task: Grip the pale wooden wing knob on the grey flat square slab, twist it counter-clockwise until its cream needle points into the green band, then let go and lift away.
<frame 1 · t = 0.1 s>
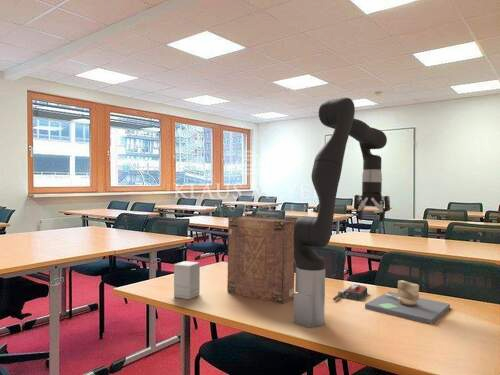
hand: (371, 221, 152), 29 cm above the table, tool pointing down, fingers open, 8 cm apart
book: (259, 295, 146), on the table
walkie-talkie: (350, 298, 146), on the table
tuning knob: (400, 290, 136), point 5 cm above the table, hinge at 0.0°
supplement box: (186, 296, 143), on the table
grey flat square slab: (407, 308, 133), on the table
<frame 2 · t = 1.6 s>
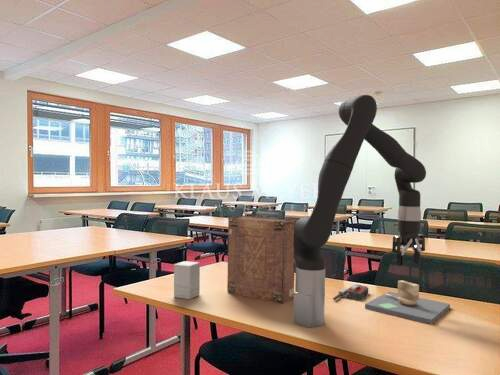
hand: (408, 264, 133), 16 cm above the table, tool pointing down, fingers open, 8 cm apart
nothing on the table moved.
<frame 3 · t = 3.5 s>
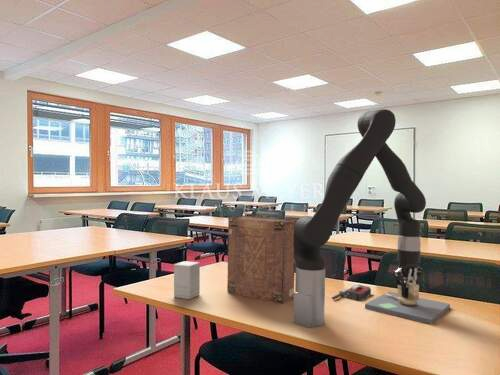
hand: (408, 296, 133), 4 cm above the table, tool pointing down, fingers closed on tuning knob, 2 cm apart
tuning knob: (400, 290, 136), point 5 cm above the table, hinge at 0.0°, touching gripper
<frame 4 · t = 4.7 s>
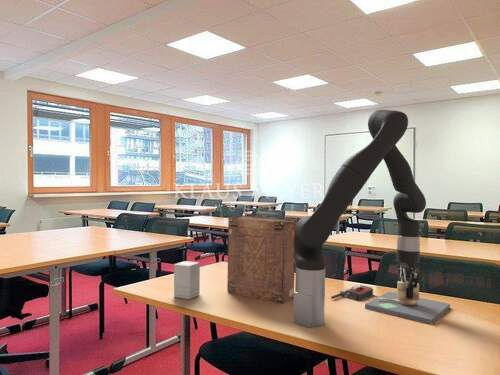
hand: (407, 296, 133), 4 cm above the table, tool pointing down, fingers closed on tuning knob, 3 cm apart
tuning knob: (398, 291, 134), point 5 cm above the table, hinge at 42.4°, touching gripper
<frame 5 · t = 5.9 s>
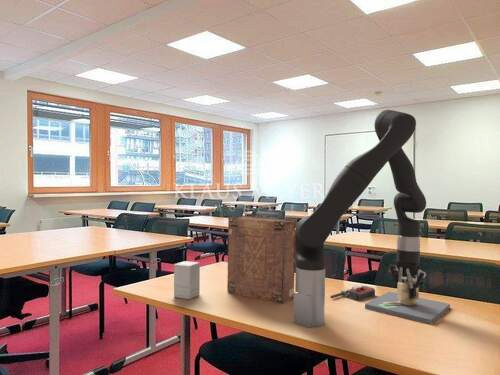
hand: (407, 296, 133), 4 cm above the table, tool pointing down, fingers closed on tuning knob, 3 cm apart
tuning knob: (400, 293, 132), point 5 cm above the table, hinge at 76.8°, touching gripper
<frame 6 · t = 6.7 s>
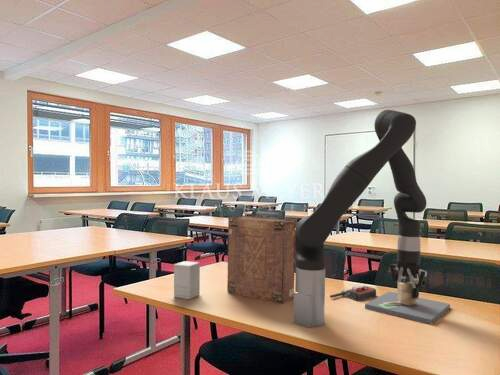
hand: (407, 295, 133), 4 cm above the table, tool pointing down, fingers open, 4 cm apart
tuning knob: (400, 293, 132), point 5 cm above the table, hinge at 77.9°
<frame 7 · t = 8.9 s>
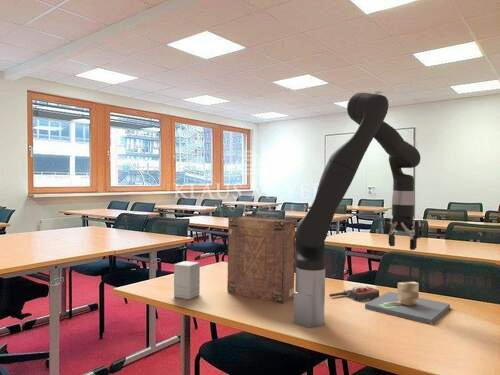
hand: (401, 247, 136), 21 cm above the table, tool pointing down, fingers open, 8 cm apart
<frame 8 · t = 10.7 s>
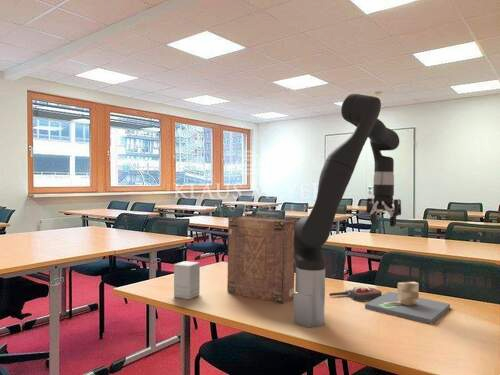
hand: (382, 225, 145), 28 cm above the table, tool pointing down, fingers open, 8 cm apart
at the end: tuning knob at +78° (first picture: +0°); the gripper is holding nothing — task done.
